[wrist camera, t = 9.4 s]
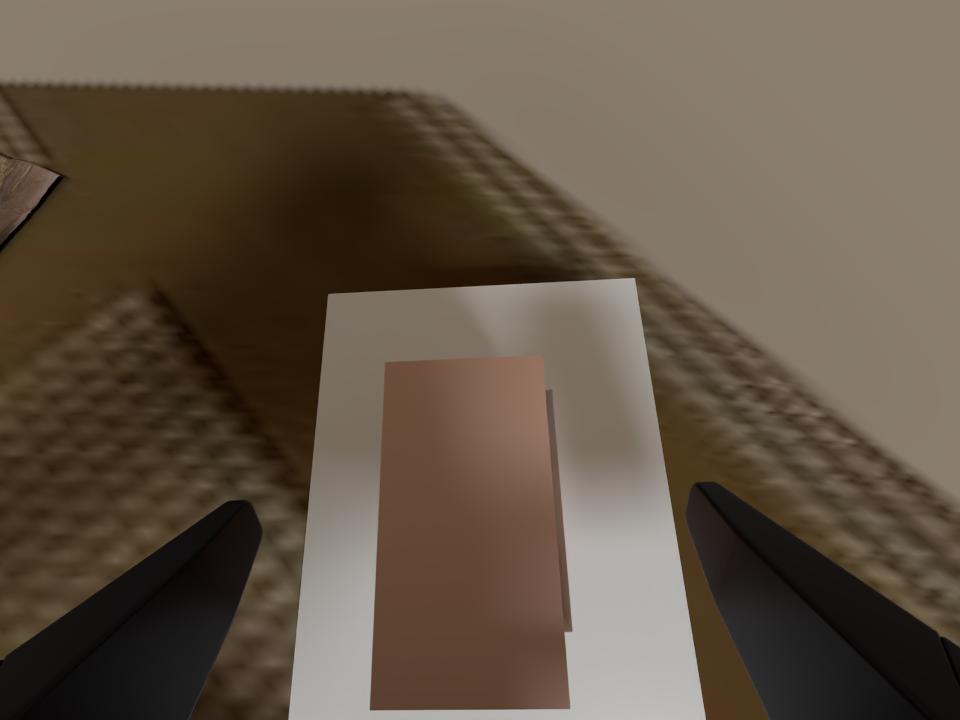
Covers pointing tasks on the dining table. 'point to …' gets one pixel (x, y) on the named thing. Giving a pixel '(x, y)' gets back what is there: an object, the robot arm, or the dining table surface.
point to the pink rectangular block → (467, 541)
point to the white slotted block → (576, 487)
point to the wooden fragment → (20, 191)
